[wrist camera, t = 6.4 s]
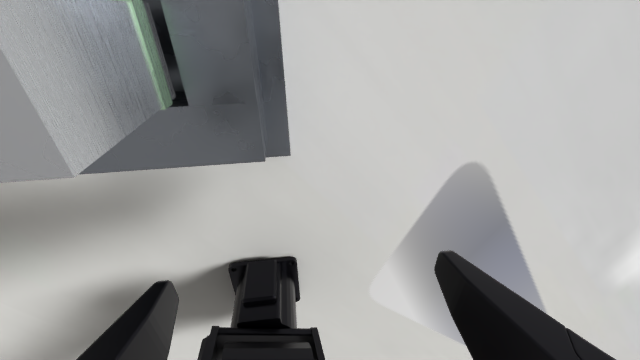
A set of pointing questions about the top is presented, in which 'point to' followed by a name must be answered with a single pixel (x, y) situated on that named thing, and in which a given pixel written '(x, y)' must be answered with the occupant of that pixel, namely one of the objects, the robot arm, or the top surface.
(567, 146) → the top surface
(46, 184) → the top surface
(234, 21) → the housing
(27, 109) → the column
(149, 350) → the robot arm
